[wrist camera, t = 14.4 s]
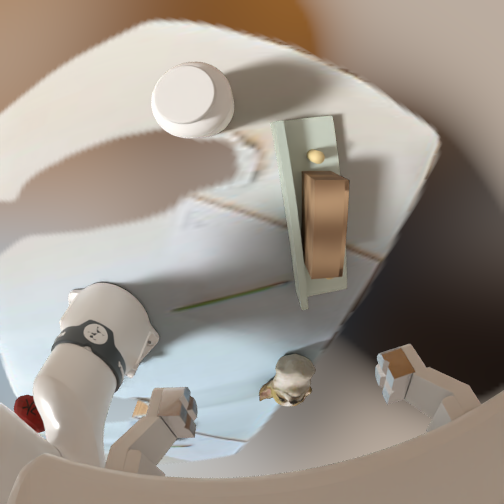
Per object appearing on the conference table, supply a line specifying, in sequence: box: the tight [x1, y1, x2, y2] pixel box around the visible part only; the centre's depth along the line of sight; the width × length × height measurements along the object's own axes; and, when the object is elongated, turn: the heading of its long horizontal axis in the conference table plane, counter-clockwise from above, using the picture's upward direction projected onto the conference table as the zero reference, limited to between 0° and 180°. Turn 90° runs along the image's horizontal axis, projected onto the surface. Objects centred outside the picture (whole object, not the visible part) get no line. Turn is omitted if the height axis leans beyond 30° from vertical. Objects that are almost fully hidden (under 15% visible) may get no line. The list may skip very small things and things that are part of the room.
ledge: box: [270, 116, 347, 310], centre depth 38 cm, size 26×8×5 cm, turn 10°
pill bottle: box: [151, 62, 234, 138], centre depth 27 cm, size 8×8×15 cm
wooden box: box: [301, 171, 349, 279], centre depth 35 cm, size 12×4×7 cm, turn 3°
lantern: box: [14, 395, 45, 433], centre depth 40 cm, size 10×10×30 cm
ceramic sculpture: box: [259, 354, 316, 406], centre depth 50 cm, size 11×9×15 cm
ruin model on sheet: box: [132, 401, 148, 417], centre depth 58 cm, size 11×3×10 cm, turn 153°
